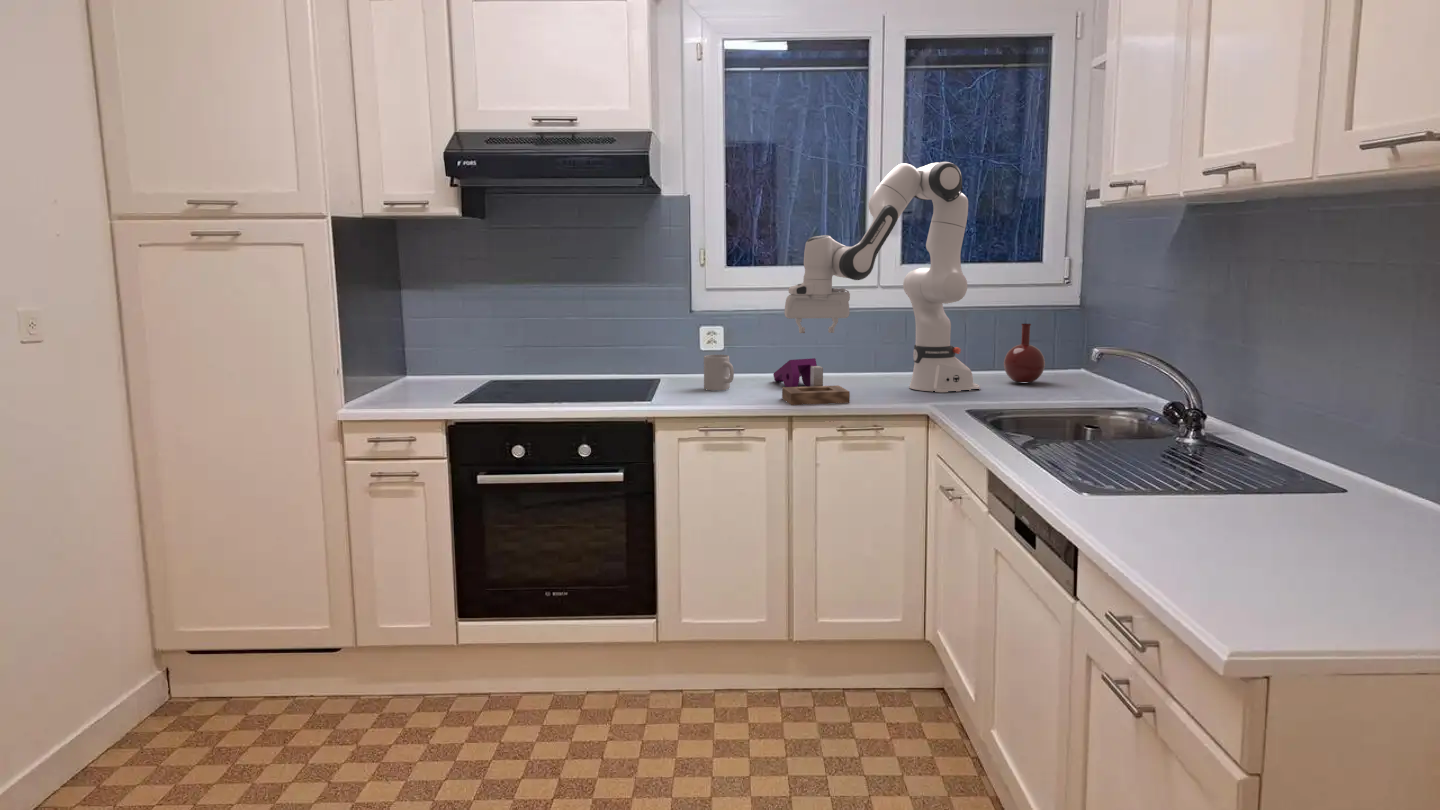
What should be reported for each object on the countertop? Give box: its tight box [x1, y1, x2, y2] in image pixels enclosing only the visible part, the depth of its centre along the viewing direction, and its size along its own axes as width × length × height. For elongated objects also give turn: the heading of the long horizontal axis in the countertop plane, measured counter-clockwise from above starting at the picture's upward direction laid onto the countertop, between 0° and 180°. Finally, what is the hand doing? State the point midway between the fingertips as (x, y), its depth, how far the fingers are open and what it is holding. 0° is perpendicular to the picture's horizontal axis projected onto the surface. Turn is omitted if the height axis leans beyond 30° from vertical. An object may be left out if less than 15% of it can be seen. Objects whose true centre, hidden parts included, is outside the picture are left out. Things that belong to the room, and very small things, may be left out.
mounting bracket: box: [773, 357, 818, 387], centre depth 332 cm, size 9×8×18 cm
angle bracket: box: [810, 365, 824, 386], centre depth 309 cm, size 8×4×9 cm, turn 99°
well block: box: [781, 384, 851, 406], centre depth 300 cm, size 18×12×4 cm, turn 99°
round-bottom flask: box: [1003, 323, 1046, 383], centre depth 329 cm, size 13×13×20 cm
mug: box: [703, 354, 735, 391], centre depth 322 cm, size 12×8×11 cm
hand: (816, 332), depth 307 cm, fingers open, 8 cm apart
